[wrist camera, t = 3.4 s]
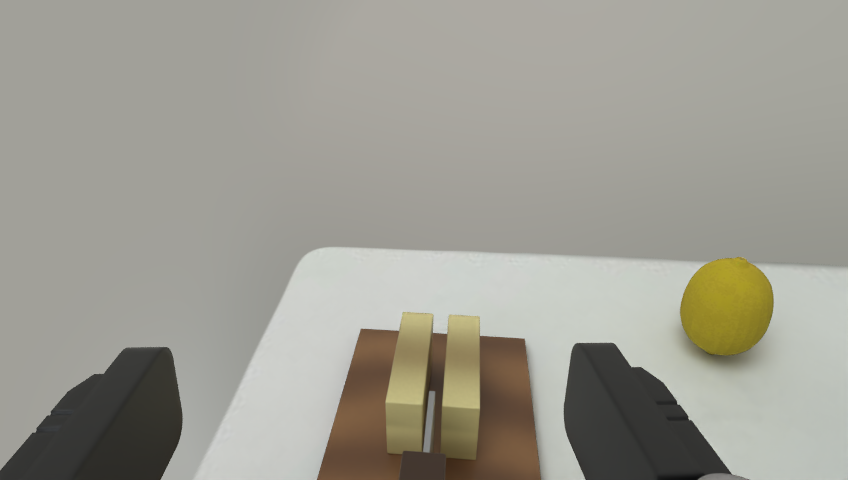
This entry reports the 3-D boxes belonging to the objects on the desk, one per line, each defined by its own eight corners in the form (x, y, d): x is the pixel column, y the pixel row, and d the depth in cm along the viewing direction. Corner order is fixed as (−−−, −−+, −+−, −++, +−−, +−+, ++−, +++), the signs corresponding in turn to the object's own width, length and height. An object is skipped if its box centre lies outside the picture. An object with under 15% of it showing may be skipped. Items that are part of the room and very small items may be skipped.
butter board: (571, 788, 20) (593, 725, 18) (244, 750, 21) (222, 685, 18) (523, 349, 41) (530, 292, 38) (361, 339, 42) (358, 283, 39)
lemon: (766, 357, 40) (804, 262, 36) (729, 391, 37) (765, 292, 33) (693, 320, 44) (720, 230, 40) (654, 348, 41) (679, 254, 37)
